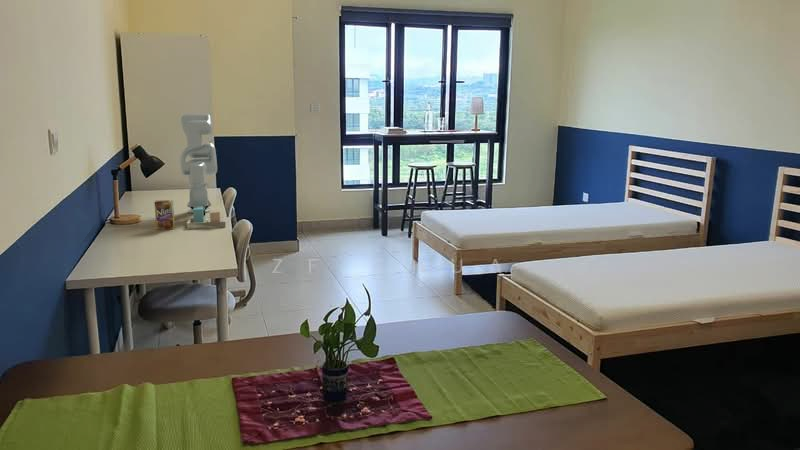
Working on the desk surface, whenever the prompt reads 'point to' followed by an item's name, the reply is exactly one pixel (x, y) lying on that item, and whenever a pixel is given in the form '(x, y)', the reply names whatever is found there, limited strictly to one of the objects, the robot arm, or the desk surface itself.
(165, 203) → the candy box
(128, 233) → the desk surface
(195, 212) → the teal block
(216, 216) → the ochre block
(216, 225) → the lane shelf
